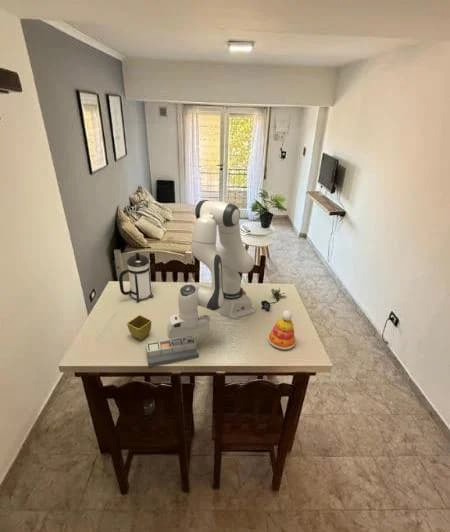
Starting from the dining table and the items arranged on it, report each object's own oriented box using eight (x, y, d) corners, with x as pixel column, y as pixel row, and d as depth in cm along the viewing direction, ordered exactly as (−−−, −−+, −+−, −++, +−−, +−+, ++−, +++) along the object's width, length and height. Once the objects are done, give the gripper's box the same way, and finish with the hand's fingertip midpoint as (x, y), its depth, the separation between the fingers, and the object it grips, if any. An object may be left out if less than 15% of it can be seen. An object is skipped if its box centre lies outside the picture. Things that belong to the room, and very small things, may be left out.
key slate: (180, 345, 150) (180, 339, 148) (182, 350, 146) (182, 345, 145) (172, 346, 149) (172, 341, 147) (173, 352, 145) (173, 346, 144)
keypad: (192, 338, 157) (191, 330, 154) (198, 357, 145) (198, 348, 142) (146, 346, 150) (145, 337, 147) (148, 367, 138) (147, 358, 136)
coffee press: (133, 288, 197) (128, 246, 184) (157, 291, 196) (154, 248, 182) (121, 303, 182) (115, 258, 168) (147, 306, 180) (143, 261, 167)
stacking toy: (262, 342, 157) (266, 310, 148) (277, 329, 167) (281, 299, 158) (285, 355, 149) (291, 323, 140) (300, 341, 158) (306, 310, 150)
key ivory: (191, 344, 152) (191, 339, 150) (193, 350, 148) (193, 344, 147) (183, 346, 151) (183, 340, 149) (185, 351, 147) (185, 345, 146)
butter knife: (93, 339, 153) (99, 340, 153) (114, 312, 174) (119, 312, 174) (94, 340, 153) (99, 341, 153) (114, 312, 174) (119, 313, 174)
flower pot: (140, 344, 152) (138, 329, 148) (128, 337, 156) (126, 323, 152) (153, 334, 158) (151, 320, 154) (140, 328, 162) (139, 314, 158)
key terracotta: (169, 348, 149) (169, 343, 147) (170, 354, 145) (170, 348, 144) (161, 350, 147) (160, 344, 146) (162, 355, 144) (161, 350, 142)
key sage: (158, 349, 147) (157, 343, 145) (159, 355, 143) (158, 349, 142) (149, 350, 145) (149, 345, 144) (150, 356, 142) (149, 350, 140)
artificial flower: (257, 310, 185) (256, 294, 183) (277, 299, 201) (276, 284, 199) (269, 312, 179) (268, 296, 177) (289, 301, 195) (288, 286, 193)
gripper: (208, 310, 147) (208, 333, 153) (165, 317, 141) (167, 340, 148) (211, 318, 142) (211, 341, 148) (167, 326, 136) (169, 349, 142)
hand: (189, 341), depth 148 cm, fingers closed
